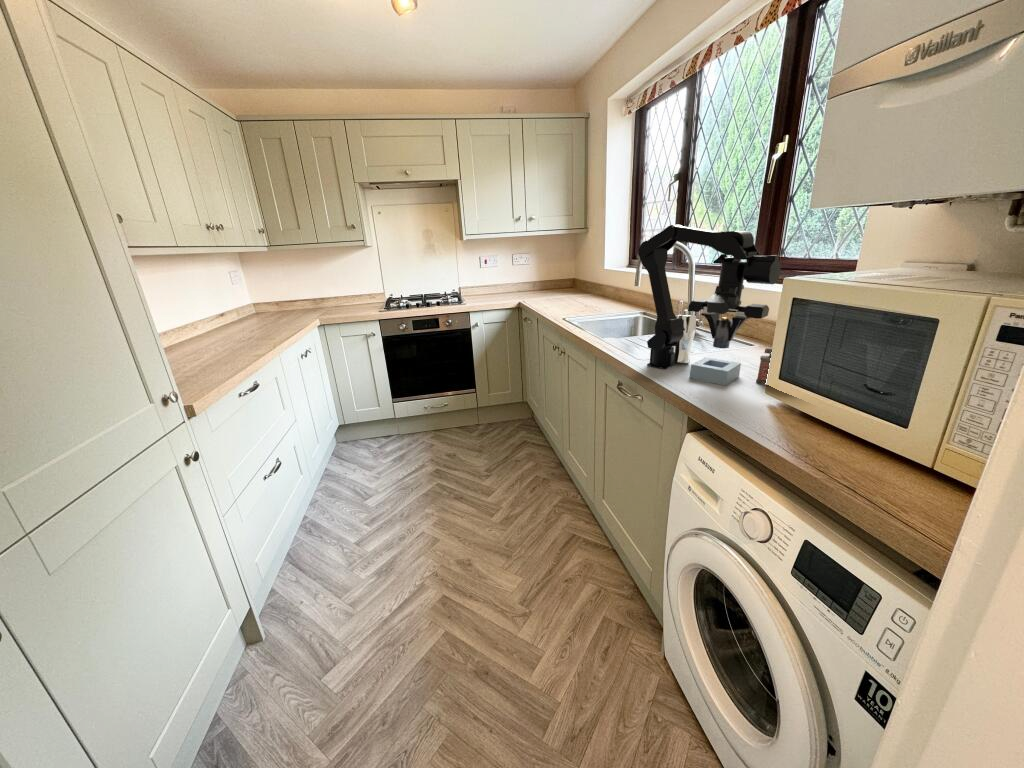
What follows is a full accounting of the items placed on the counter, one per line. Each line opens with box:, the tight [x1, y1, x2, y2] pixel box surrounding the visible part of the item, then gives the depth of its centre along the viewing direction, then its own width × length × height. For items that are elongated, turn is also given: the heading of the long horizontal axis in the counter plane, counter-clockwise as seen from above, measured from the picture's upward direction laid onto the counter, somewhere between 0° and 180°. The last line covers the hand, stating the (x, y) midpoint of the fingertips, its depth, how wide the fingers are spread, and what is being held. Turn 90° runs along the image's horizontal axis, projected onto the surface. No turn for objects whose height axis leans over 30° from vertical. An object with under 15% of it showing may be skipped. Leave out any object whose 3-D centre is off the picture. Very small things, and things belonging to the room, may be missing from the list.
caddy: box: [689, 356, 742, 386], centre depth 114 cm, size 10×10×4 cm
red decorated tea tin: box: [755, 347, 773, 386], centre depth 106 cm, size 8×3×10 cm, turn 57°
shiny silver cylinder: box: [673, 314, 697, 364], centre depth 128 cm, size 7×7×15 cm
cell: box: [712, 316, 732, 349], centre depth 108 cm, size 4×4×8 cm
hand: (721, 339), depth 109 cm, fingers closed on cell, 4 cm apart
